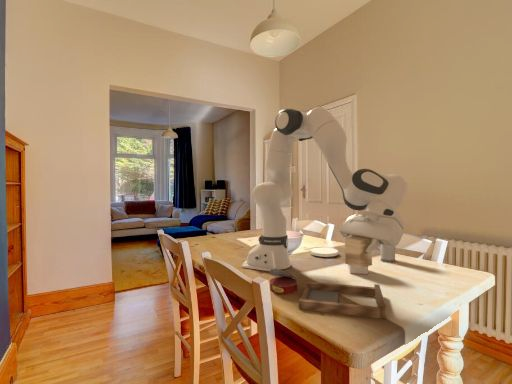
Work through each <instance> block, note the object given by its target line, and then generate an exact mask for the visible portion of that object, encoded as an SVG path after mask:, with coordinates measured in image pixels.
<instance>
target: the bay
mask: <svg viewBox="0 0 512 384" xmlns="http://www.w3.org/2000/svg"><path fill="white" fill-rule="evenodd" d="M339 294H344V295H356V296H358V295H359V296H365V297H374V298H375V303H376V305H377V306H373V305H372V306H371V305H362V304H361V305H360V304H352V303H342V302H339ZM298 310H306V311H314V312H321V313H323V312H324V313H330V314H339V315H347V316H348V315H349V316H357V317H363V318H374V319H382V320H386V319H387V305H386V302H385V300H384V295H383V293H382V289H381V286H380V284H374V285H373V286H362V285H352V284H339V283H338V284H337V283H329V282H327V283H326V282H319V281H318V282H317V281H315V282H314V281H306V282H305V288H304V290H303V293H302V295H301V298H299V300H298Z"/></svg>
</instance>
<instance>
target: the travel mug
mask: <svg viewBox="0 0 512 384" xmlns="http://www.w3.org/2000/svg"><path fill="white" fill-rule="evenodd" d="M380 261H382V262H384V263H395V262H396V246H395V247H390V246H386V245H381V244H380Z"/></svg>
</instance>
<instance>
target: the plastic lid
mask: <svg viewBox="0 0 512 384" xmlns="http://www.w3.org/2000/svg"><path fill="white" fill-rule="evenodd" d="M310 255H312V256H316V257H322V258H323V257H325V258H329V257H330V258H331V257H336V256H338V255H339V250H338V249H336V248H333V247H322V246H321V247H314V248H311V249H310Z"/></svg>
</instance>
